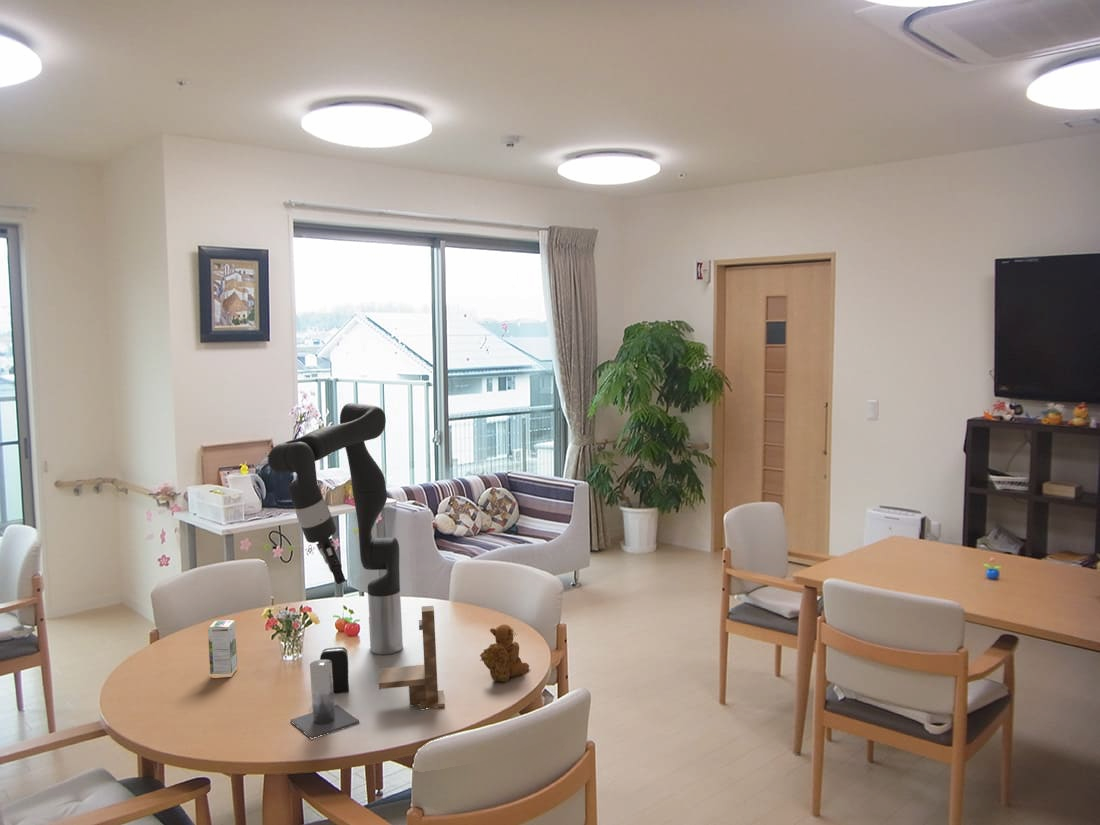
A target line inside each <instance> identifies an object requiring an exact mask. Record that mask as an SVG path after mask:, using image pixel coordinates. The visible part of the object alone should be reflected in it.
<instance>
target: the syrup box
mask: <svg viewBox="0 0 1100 825" xmlns="http://www.w3.org/2000/svg"><path fill="white" fill-rule="evenodd" d="M207 634H208V635H207V636H208V653H209V654H208V656H209V674H231V673H232V672H233V671H234V669H235V668H236V666H237V667H238V654H237V637H236V621H235V620H230V619H220V620H214V621H213V623H212V624H211V625H210V626H208V628H207Z"/></svg>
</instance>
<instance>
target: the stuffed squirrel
mask: <svg viewBox="0 0 1100 825" xmlns="http://www.w3.org/2000/svg"><path fill="white" fill-rule="evenodd" d="M489 632H490V633H491V634H492V635H493V636H494V638H495V643H491V644H489V646H488V647H487V648H485V649H483V652H482V653H480V654H479V656H480V658H481V659H480V661H482V662H483V664H484V666H485V667H486V668H487V669H488V670H489V674H490V677H491V679H492V680H494V681H495V682H501V683H507V682H508V681H509V680H510V678H514V677H519V676H522V675H524V674H525V673H526V672H527V671H528V670H529V668H530V665H529V664H528V662H523V661H522V659H521V658H520V657H519V654H520V645H519V643H518V642H517V641H514V638H515V635H516V636H518V634H517V633H516V632H515V631H514V628H512V627H511V626H509V625H508V624H501V625H499V626H497V627H496V628H493V627H492V628H490V629H489Z"/></svg>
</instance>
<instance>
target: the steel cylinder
mask: <svg viewBox="0 0 1100 825" xmlns="http://www.w3.org/2000/svg"><path fill="white" fill-rule="evenodd" d="M309 670H310V687H311V703H312V704H311V705H312V706H311V707H312V712H313V722H314V723H315V724H317V725H325V724H329V723H331V722H333V721H334V720H335V709H334V705H335V698H334V697H335V696H334V694H335V693H334V692H333V676H332V662H331V661H330V660H326V659H323V660H320V659H318V660H314V661H312V662H310V664H309Z"/></svg>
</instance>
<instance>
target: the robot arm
mask: <svg viewBox="0 0 1100 825" xmlns="http://www.w3.org/2000/svg"><path fill="white" fill-rule="evenodd" d="M386 420H387V418H386V414H385V412H384V410H383V409H382V408H381V407H379V406H376V405H372V404H366V403H365V404H364V403H356V402H350V403H347V404H344V406H343V407H342V408H341V411H340V415H339V424H332V425H327V426H322V427H319V428H317V429H315V430H312V431H311V432H308V433H306V434H305V435H303V436H300V437H297V438H294V439H291V440H288V441H284V442H282V443H279V444H277V445H275V446H273V448H272V449H271V450H270V451H269V454H268V458H267V463H268V467H270V469H271V470H272V471H273V472H275V473H277V474H280V475H281V474H282V475H285V474H291V473H293V474H294V473H295V474H296V479H295V480H293V481H292V482H290V484H288V487H287V491H288V495H289V498H290V500H291V502H292V504H293V508H294V511H295V513H296V518H297V520H298V523H299V525H300V528H301V530H302V533H303V535H304V538H305V539H306V542H308V543H312V544H314V543H315V545H316V548H317V550H318V552H319V554H320V555H321V556H322V558H323V560H324V561H323V562H325V564H326V565H327V566H328V568H329V571H330V573H332V575H333V578H334V581H335V583H336V584H337V585H339V584H342V583H344V582H346V577H345V575H344V573H343V570H342V564H341V562H340V561H339V559H340V555H339V554H338V552H337V549H336V548H337V547H336V543H335V542H334V541H333V538H332V536H334V534H335V533H336V531H337V527H336V524H335V522H334V519H333V517H332V514H331V511H330V509H329V506H328V504H327V502H326V500H325V499H324V497H323V494H322V491H321V489H320V487H319V484H318V479H317V468H316V467H317V466H316V462H317V461H319V460H321V459H323V458H325V457H327V456H329V455H331V454H333V453H334V452H335V453H336V452H337V451H340V450H342V449H345V452H346V456H347V460H348V467H349V472H350V474H349V475H350V479H351V489H352V495H353V496H352V497H353V502H354V508H355V512H356V513H355V514H356V519H357V529H358V531H357V532H358V542H359V545H358V546H359V556H360V557H359V558H360V562H361V565H362V567H363V568H364V570H368V571H375V570H376V571H377V570H383V571H384V570H386V574H384V575H383V576H381V577H378V578H376V579H373V580H371V581H370V582H369V583H368V584H367V598H368V599H367V600H368V624H369V625H368V626H369V629H368V630H369V641H370V644H369V645H370V646H369V647H370V652H372V654H375V655H390V654H394V653H399V652H400V651H401V650H403V648H404V645H403V644H404V643H403V625H402V624H403V623H402V622H403V621H402V620H403V619H402V602H401V585H400V584H401V583H400V582H401V581H400V580H401V579H400V576H401V575H400V544H399V541H398V538H396V537H394V536H391V537H385V536H384V537H373V535H372V532H373V531H372V530H373V527H374V525H375V522H376V521H377V519H378V517H379V516H380V514H381V512H382V511H383V509H384V507H385V505H386V504H387V499H388V494H387V486H386V479H385V478H386V477H385V475H384V473H383V471H382V470H381V468H380V466H379V465H378V464H377V462H376V461H375V459H374V458H373V457H372V455H371V454H370V452H369V451H368V448H367V446H366V444H365V442H367V441H370V440H375V439H376V438H378V437H380V436H381V435H382V434H383V433H384V430H385V428H386V422H387V421H386Z"/></svg>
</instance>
